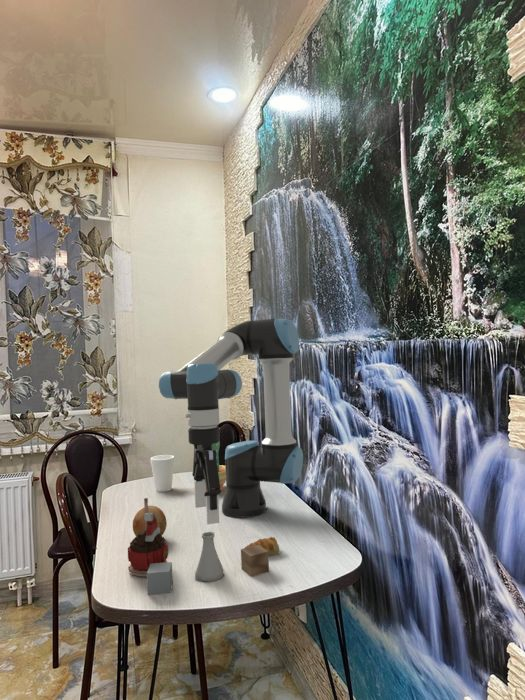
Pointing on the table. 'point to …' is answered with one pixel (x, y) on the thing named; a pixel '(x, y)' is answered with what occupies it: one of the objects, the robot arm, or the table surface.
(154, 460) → the foam cup
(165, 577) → the slate-grey block
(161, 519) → the onion
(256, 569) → the walnut block
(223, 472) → the potted cactus
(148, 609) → the table surface
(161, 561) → the cake
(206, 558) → the flask
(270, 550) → the pastry
